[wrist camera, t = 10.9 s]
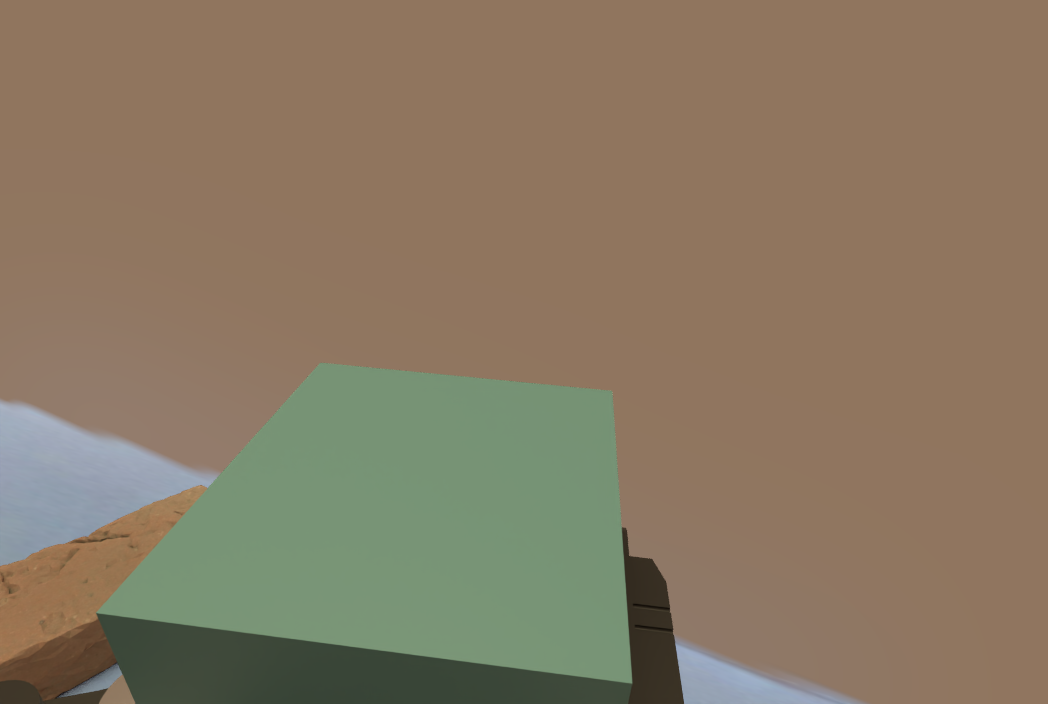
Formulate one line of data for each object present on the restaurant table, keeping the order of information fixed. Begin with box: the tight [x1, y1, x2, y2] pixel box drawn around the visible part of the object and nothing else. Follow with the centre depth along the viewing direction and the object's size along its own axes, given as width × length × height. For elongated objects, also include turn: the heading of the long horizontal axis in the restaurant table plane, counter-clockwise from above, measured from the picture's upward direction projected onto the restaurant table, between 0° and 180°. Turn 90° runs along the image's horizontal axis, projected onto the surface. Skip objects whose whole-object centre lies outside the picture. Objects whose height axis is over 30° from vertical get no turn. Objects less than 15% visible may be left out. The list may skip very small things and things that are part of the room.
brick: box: [0, 485, 207, 701], centre depth 35 cm, size 17×8×5 cm, turn 136°
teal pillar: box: [96, 363, 632, 704], centre depth 10 cm, size 5×5×10 cm
